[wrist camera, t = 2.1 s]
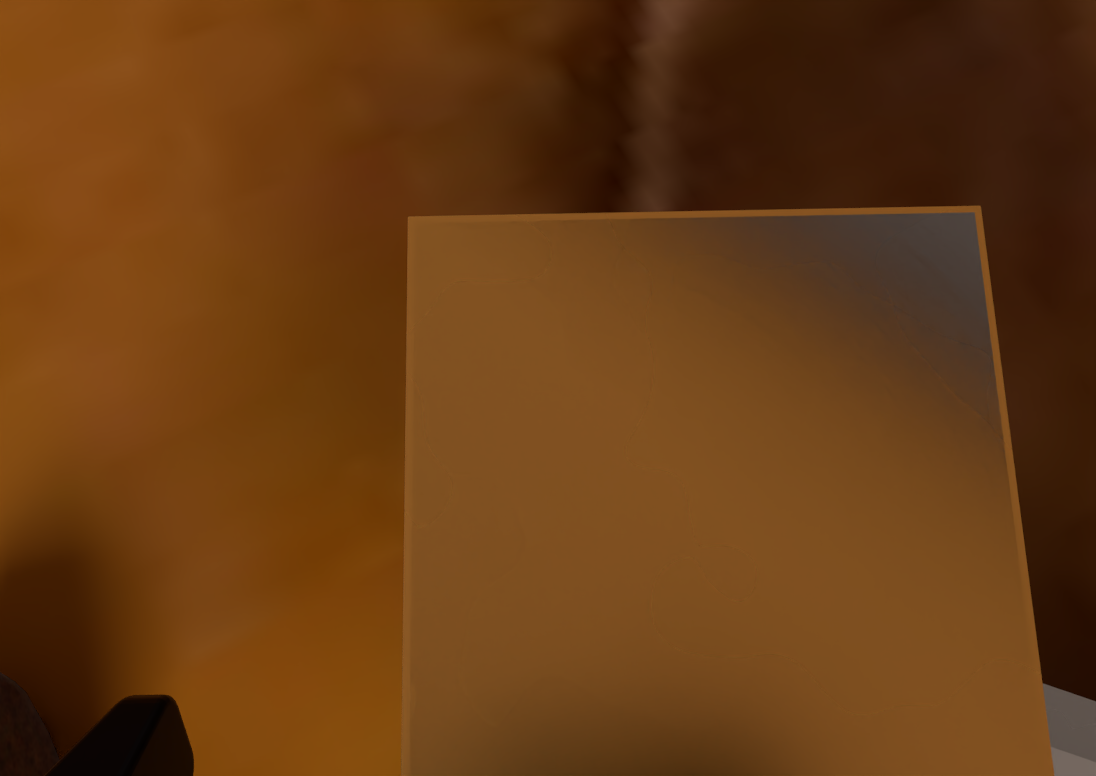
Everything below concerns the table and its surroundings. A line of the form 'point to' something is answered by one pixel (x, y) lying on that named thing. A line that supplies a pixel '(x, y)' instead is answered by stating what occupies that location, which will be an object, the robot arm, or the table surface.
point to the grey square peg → (712, 499)
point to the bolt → (22, 734)
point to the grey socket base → (1071, 732)
